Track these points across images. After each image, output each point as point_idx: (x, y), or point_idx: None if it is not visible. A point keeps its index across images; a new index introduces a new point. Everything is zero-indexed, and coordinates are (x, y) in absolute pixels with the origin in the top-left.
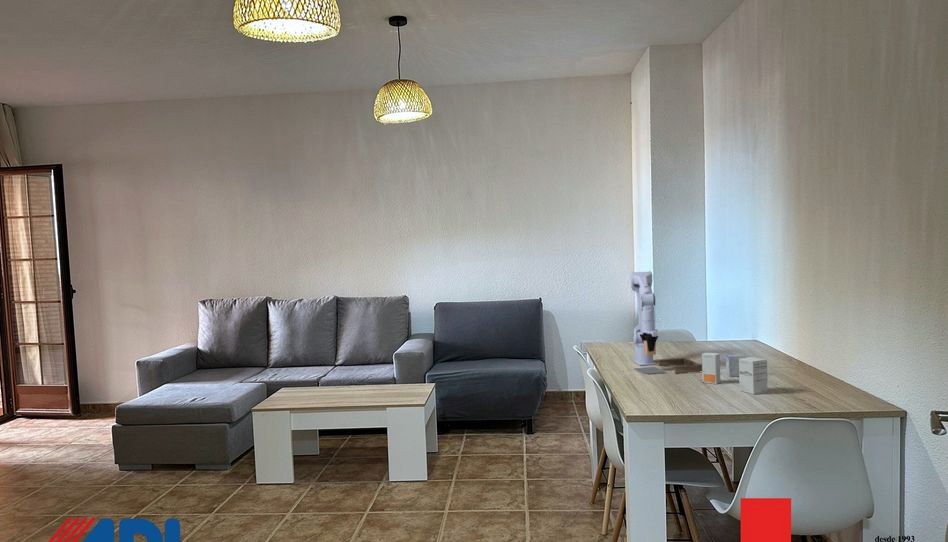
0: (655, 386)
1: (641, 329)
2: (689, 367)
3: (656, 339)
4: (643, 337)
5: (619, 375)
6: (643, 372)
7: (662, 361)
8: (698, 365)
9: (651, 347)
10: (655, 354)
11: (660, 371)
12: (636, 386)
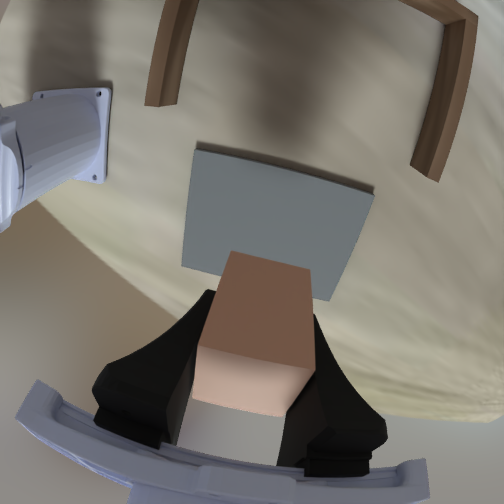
0: (471, 354)
1: (117, 481)
2: (461, 93)
3: (366, 407)
4: (180, 424)
5: None
6: None
7: (166, 82)
8: (474, 40)
9: None
10: (309, 274)
11: (340, 209)
12: (430, 385)
